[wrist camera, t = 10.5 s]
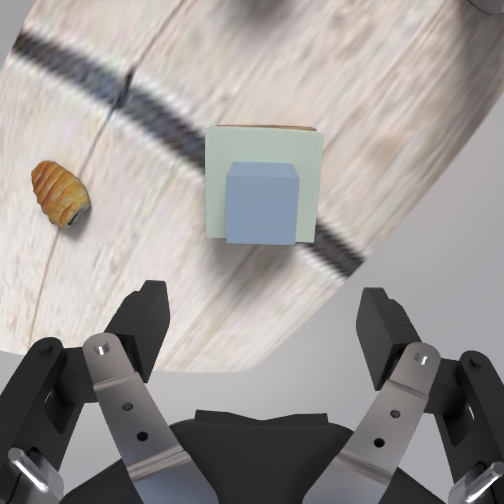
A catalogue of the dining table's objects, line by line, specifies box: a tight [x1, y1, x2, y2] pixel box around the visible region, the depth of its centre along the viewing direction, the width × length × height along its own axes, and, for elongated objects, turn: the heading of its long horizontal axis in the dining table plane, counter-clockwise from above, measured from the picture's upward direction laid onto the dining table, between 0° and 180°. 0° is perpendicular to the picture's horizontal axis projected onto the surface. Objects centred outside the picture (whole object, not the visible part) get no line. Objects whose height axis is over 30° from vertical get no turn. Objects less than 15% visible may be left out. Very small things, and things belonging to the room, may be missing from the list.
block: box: [226, 162, 300, 245], centre depth 26 cm, size 5×5×6 cm
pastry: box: [31, 161, 90, 230], centre depth 35 cm, size 9×7×4 cm
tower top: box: [205, 126, 324, 243], centre depth 30 cm, size 10×10×4 cm
